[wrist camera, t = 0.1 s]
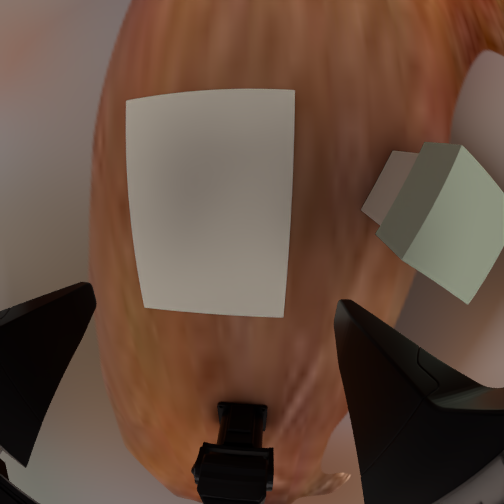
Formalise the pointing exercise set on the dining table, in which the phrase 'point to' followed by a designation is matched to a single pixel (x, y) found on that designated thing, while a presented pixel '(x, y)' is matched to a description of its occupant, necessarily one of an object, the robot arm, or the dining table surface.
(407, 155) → the light grey cube-like block
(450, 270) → the sticky note pad
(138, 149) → the mat
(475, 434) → the robot arm
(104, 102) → the dining table surface
